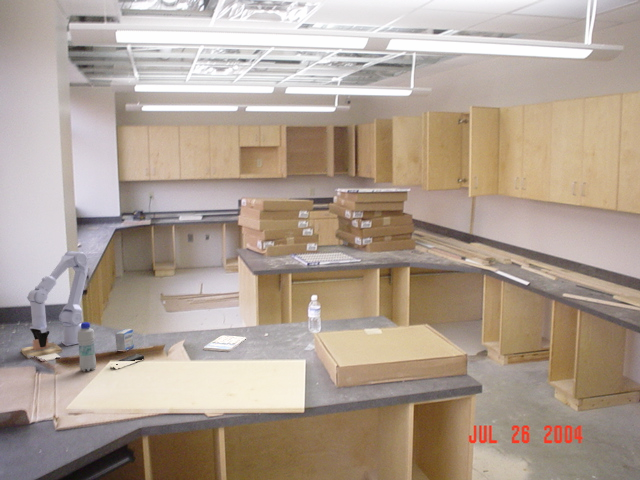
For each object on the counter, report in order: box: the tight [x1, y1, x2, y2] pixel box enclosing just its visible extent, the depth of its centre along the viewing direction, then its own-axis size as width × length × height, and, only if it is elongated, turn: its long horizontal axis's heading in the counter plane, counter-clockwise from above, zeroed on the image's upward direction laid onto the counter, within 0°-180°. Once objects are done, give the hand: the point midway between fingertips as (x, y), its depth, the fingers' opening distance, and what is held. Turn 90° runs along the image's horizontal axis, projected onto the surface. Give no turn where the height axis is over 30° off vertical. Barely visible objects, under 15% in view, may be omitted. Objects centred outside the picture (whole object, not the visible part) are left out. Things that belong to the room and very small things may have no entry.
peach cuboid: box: [32, 337, 50, 350], centre depth 256 cm, size 6×2×6 cm, turn 130°
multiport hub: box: [116, 353, 145, 365], centre depth 238 cm, size 4×14×2 cm, turn 149°
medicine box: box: [115, 328, 135, 352], centre depth 257 cm, size 8×4×9 cm, turn 168°
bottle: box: [77, 321, 97, 372], centre depth 229 cm, size 7×7×20 cm
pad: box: [38, 353, 61, 362], centre depth 247 cm, size 8×8×1 cm
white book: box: [203, 334, 247, 352], centre depth 263 cm, size 13×20×2 cm, turn 164°
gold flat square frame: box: [20, 341, 63, 360], centre depth 256 cm, size 14×14×2 cm
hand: (40, 345), depth 256 cm, fingers open, 7 cm apart
